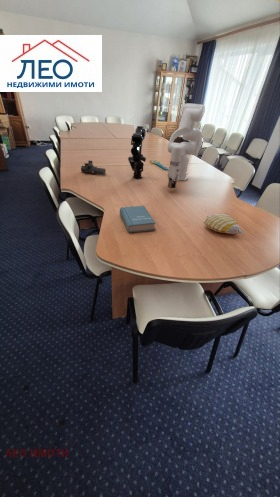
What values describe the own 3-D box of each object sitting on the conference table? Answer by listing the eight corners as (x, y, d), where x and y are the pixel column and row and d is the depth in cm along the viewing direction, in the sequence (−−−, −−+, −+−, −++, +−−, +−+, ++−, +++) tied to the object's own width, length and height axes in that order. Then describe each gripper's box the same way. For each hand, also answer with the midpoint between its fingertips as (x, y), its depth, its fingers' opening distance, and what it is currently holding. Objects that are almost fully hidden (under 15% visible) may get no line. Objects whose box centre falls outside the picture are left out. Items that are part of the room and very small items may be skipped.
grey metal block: (170, 188, 175) (171, 182, 172) (167, 186, 178) (168, 180, 175) (175, 187, 177) (176, 181, 174) (172, 185, 180) (173, 179, 177)
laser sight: (102, 176, 199) (102, 165, 193) (79, 173, 202) (78, 162, 196) (106, 173, 207) (106, 162, 201) (83, 170, 210) (82, 159, 204)
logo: (149, 161, 250) (149, 160, 250) (157, 160, 253) (157, 160, 252) (160, 170, 225) (160, 169, 224) (168, 170, 227) (168, 169, 227)
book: (154, 230, 131) (155, 222, 128) (128, 232, 126) (128, 225, 124) (143, 212, 148) (143, 205, 145) (119, 214, 144) (120, 207, 141)
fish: (254, 225, 128) (232, 232, 118) (249, 236, 132) (228, 244, 123) (221, 208, 144) (199, 213, 134) (217, 218, 149) (196, 224, 139)
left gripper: (150, 154, 169) (148, 175, 179) (140, 149, 183) (139, 168, 192) (137, 155, 165) (136, 176, 175) (128, 149, 179) (127, 169, 188)
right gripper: (185, 166, 161) (181, 190, 172) (173, 159, 173) (170, 182, 184) (176, 167, 159) (173, 191, 170) (165, 160, 171) (162, 183, 182)
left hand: (135, 172), depth 182 cm, fingers open, 9 cm apart
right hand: (171, 186), depth 177 cm, fingers closed on grey metal block, 4 cm apart
